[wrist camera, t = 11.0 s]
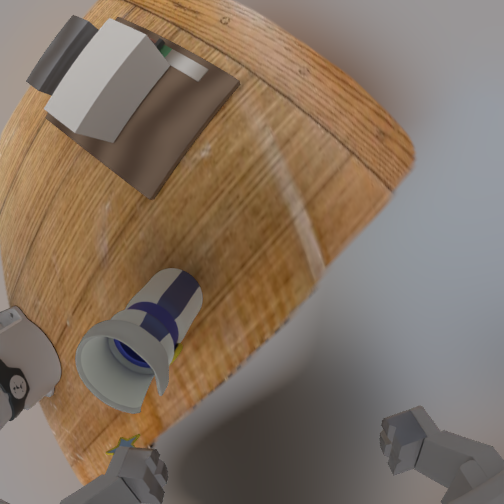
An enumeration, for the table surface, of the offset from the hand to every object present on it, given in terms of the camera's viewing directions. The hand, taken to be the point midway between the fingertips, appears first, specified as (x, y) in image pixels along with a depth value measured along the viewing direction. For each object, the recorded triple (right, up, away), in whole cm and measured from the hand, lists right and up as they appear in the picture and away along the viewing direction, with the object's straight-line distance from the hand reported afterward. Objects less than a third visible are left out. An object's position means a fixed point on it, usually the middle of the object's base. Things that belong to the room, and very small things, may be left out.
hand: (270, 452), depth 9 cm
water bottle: (-11, +1, +31) cm, 32 cm away
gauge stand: (-16, +27, +25) cm, 40 cm away
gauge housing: (-17, +29, +23) cm, 40 cm away
